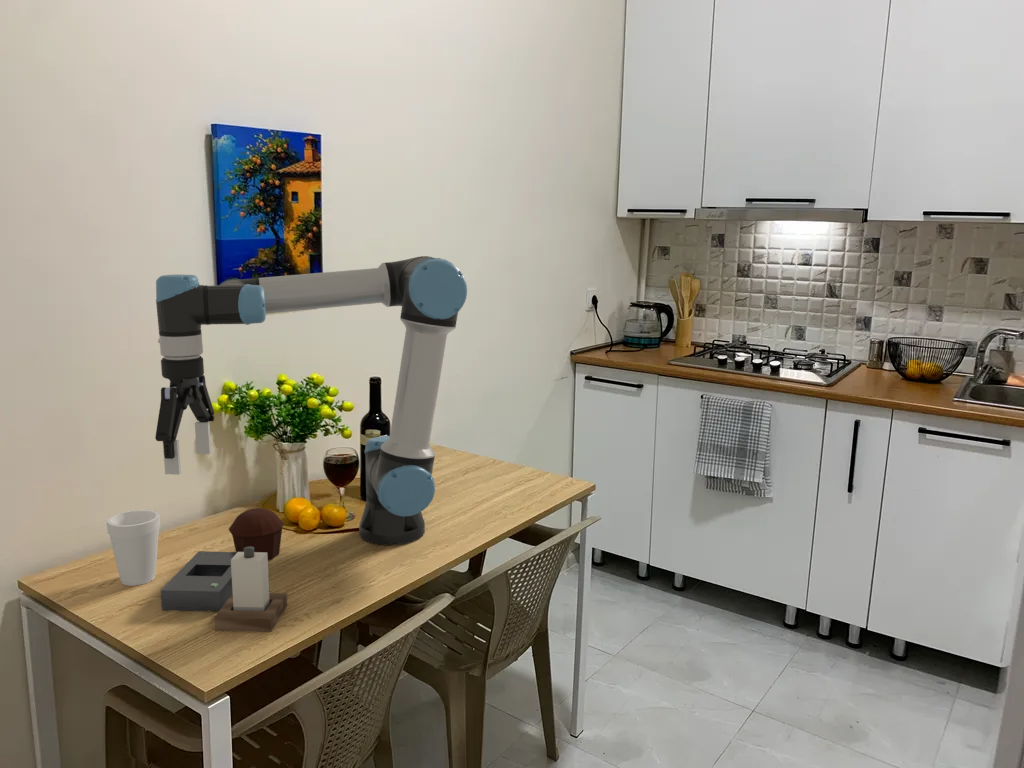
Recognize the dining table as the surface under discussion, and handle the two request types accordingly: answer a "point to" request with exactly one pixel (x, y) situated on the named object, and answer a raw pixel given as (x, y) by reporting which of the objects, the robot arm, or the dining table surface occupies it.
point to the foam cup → (135, 545)
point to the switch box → (200, 584)
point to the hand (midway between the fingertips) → (189, 463)
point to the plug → (250, 580)
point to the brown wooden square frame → (251, 616)
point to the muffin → (257, 531)
